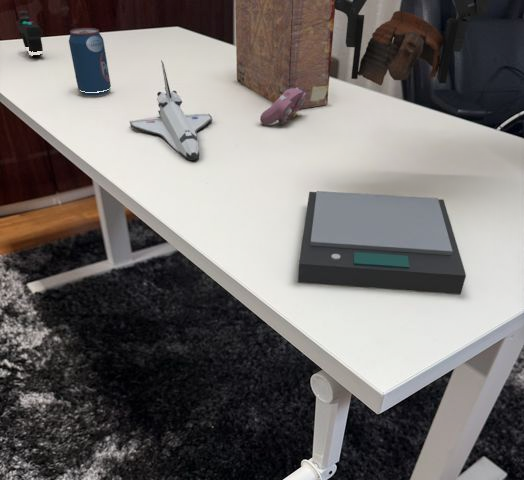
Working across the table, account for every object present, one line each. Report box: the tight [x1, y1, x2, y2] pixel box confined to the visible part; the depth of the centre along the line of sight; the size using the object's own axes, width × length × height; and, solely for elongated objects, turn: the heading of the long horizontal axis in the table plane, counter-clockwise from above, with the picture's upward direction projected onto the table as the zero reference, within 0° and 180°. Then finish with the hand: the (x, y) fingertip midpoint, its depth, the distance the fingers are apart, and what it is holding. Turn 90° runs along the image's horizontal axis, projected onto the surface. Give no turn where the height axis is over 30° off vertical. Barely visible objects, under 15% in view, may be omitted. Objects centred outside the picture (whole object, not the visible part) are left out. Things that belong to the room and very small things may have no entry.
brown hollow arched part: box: [358, 10, 445, 86], centre depth 66 cm, size 12×10×8 cm
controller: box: [16, 10, 44, 57], centre depth 140 cm, size 4×12×10 cm, turn 31°
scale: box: [297, 190, 467, 295], centre depth 67 cm, size 18×19×3 cm
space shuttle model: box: [128, 59, 213, 161], centre depth 94 cm, size 16×25×10 cm, turn 18°
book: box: [234, 0, 336, 110], centre depth 109 cm, size 25×9×30 cm, turn 27°
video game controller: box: [259, 88, 307, 126], centre depth 103 cm, size 10×5×7 cm, turn 150°
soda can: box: [68, 27, 112, 98], centre depth 114 cm, size 7×7×12 cm
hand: (397, 78), depth 68 cm, fingers closed on brown hollow arched part, 10 cm apart
